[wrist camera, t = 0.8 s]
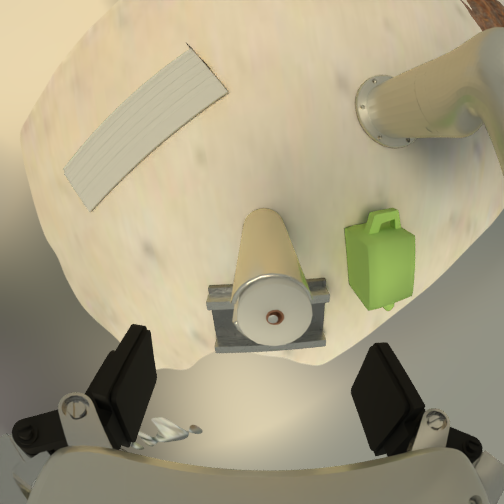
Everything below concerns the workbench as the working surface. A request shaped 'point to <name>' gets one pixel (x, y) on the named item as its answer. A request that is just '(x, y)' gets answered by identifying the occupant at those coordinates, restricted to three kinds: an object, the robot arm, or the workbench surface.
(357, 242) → the lime handled box
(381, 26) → the workbench surface
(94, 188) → the baseboard
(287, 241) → the tan metal cylinder
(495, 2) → the brown flat irregular piece
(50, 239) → the workbench surface
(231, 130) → the workbench surface
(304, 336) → the floor track
